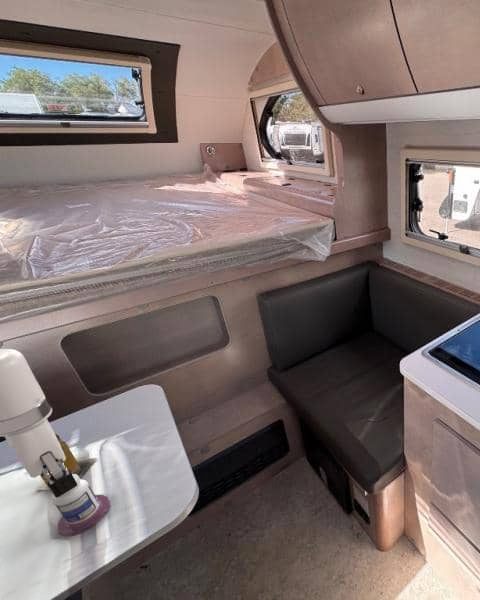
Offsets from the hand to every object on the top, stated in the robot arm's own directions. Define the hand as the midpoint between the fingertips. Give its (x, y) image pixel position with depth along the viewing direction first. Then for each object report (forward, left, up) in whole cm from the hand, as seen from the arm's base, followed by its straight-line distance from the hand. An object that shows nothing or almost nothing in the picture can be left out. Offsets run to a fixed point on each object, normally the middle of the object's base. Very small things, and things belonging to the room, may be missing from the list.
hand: (57, 478), depth 65 cm
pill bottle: (0, 0, -11) cm, 11 cm away
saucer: (0, 0, -12) cm, 12 cm away
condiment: (+2, +16, -12) cm, 20 cm away
